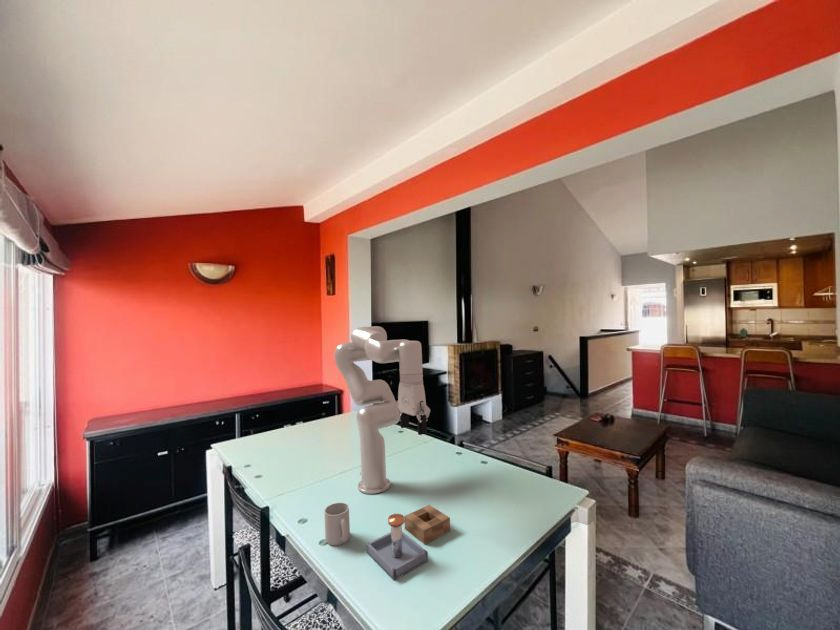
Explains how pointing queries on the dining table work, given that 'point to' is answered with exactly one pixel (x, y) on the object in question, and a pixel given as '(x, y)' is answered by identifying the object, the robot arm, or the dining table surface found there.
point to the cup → (337, 523)
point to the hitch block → (427, 524)
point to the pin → (396, 534)
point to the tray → (396, 566)
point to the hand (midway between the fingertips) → (413, 430)
